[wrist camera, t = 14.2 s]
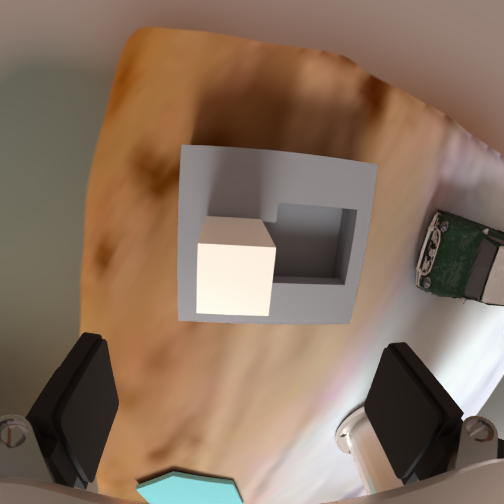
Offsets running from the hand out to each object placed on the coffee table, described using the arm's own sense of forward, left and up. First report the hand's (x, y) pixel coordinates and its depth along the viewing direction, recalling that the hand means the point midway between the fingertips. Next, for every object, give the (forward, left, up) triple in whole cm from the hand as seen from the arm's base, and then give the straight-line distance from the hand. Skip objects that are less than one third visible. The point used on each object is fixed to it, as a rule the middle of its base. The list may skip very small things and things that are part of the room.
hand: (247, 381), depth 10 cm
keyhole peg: (0, 0, -19) cm, 19 cm away
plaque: (+5, +49, -21) cm, 53 cm away
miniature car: (-29, +1, -21) cm, 36 cm away
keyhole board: (-3, 0, -21) cm, 21 cm away
